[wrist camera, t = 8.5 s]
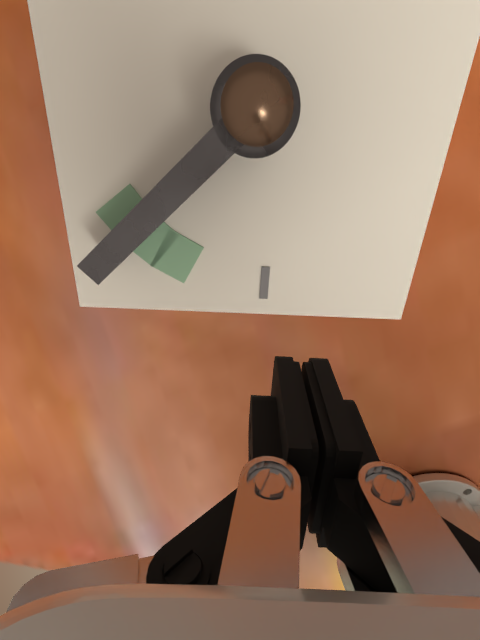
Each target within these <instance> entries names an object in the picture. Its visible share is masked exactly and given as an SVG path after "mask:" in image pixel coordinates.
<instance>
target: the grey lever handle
mask: <svg viewBox="0 0 480 640" xmlns="http://www.w3.org/2000/svg"><path fill="white" fill-rule="evenodd" d="M300 108H301V102H300V94H299V89H298V86H297V83H296V81H295V79H294V77H293V75H292V74H291V72H290V71H289V70H288V69H287V67H286V66H285V65H283V64H282V63H281V62H280V61H278V60H277V59H275V58H273V57H271V56H268V55H264V54H249V55H245V56H242V57H239V58H237V59H235V60H234V61H232V62H231V63H230V64H229V65H227V66H226V67H225V68H224V70H223V71H222V72H221V73H220V75H219V77H218V78H217V80H216V82H215V84H214V87H213V90H212V94H211V99H210V114H211V120H212V124H213V127H212V128H211V129H210V130H209V131H208V132H207V133H206V134H205V135H204V136H203V137H202V139H201V140H200V141H199V142H198V143H197V144H196V145H195V146H194V147H193V148H192V149H191V150H190V151H189V152H188V153H187V154H186V155H185V156H184V157H183V158H182V159H181V160H180V161H179V162H178V163H177V164H176V165H175V166H174V167H173V168H172V169H171V170H170V171H169V172H168V173H167V174H166V175H165V176H164V177H163V178H162V179H161V180H160V181H159V182H158V183H157V184H156V185H155V187H154V188H153V189H152V190H151V191H150V192H149V193H148V194H147V195H146V196H145V197H144V198H143V199H142V200H141V201H140V202H139V203H138V204H137V205H136V206H135V207H134V208H133V209H132V210H131V211H130V212H129V213H128V214H127V215H126V216H125V217H124V218H123V219H122V220H121V221H120V222H119V223H118V224H117V225H116V226H115V227H114V228H113V229H112V230H111V231H110V232H109V233H108V234H107V236H106V237H105V238H104V239H103V240H102V241H101V242H100V243H99V244H98V245H97V246H96V247H95V248H94V249H93V250H92V251H91V252H90V253H89V254H88V255H87V256H86V257H85V258H84V259H83V260H82V261H81V262H80V263H79V264H78V265H77V267H78V268H79V269H80V270H82V271H83V272H84V273H85V274H86V275H87V276H88V277H90V278H91V279H92V280H93V281H94V282H95V283H96V284H97V285H99V284H100V283H101V282H102V281H103V280H104V279H105V278H106V277H107V276H108V275H109V274H110V273H111V272H112V271H113V270H115V269H116V268H117V267H118V266H119V265H120V264H121V263H122V262H123V261H124V260H125V259H126V258H127V257H128V256H129V255H130V254H131V253H132V252H133V251H134V250H135V249H136V248H137V247H138V246H139V245H140V244H141V243H142V242H143V241H145V240H146V239H147V238H148V237H149V236H150V235H151V234H152V233H153V232H154V231H155V230H156V229H157V228H158V227H159V226H160V225H161V224H162V223H163V222H164V221H165V220H166V219H167V218H168V217H169V216H170V215H171V214H172V213H173V212H174V211H176V210H177V209H178V208H179V207H180V206H181V205H182V204H183V203H184V202H185V201H186V200H187V199H188V198H189V197H190V196H191V195H192V194H193V193H194V192H195V191H196V190H197V189H198V188H199V187H200V186H201V185H202V184H203V183H204V182H205V181H207V180H208V179H209V178H210V177H211V176H212V175H213V174H214V173H215V172H216V171H217V170H218V169H219V168H220V167H221V166H222V165H223V164H224V163H225V162H226V161H227V160H228V159H229V158H230V157H231V156H232V155H233V154H234V153H235V154H237V155H239V156H242V157H245V158H263V157H267V156H270V155H272V154H274V153H276V152H277V151H279V150H280V149H281V148H282V147H284V146H285V144H286V143H287V142H288V141H289V140H290V138H291V137H292V135H293V133H294V132H295V129H296V127H297V124H298V121H299V117H300Z"/></svg>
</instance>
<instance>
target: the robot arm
mask: <svg viewBox="0 0 480 640" xmlns="http://www.w3.org/2000/svg"><path fill="white" fill-rule="evenodd" d="M307 523H308V529H309V532H310V533H316V537H317V543H318V547H325V548H327V549H328V550H329V551H331V552H332V553H333V554H334V555H335V556H336V557H337V566H338V570H339V573H340V576H341V579H342V582H343V585H344V587H345V590H346V591H342V590H320V589H299V554H300V550H301V549H302V547H303V542H304V537H305V531H306V526H307ZM0 640H480V489H479V488H478V487H477V486H476V485H475V484H474V483H473V482H471V481H469V480H468V479H466V478H463V477H460V476H457V475H452V474H446V473H430V474H421V475H417V476H411V475H410V474H409V473H408V472H406V471H405V470H404V469H402V468H400V467H398V466H396V465H394V464H391V463H387V462H380V460H379V458H378V456H377V453H376V451H375V449H374V446H373V444H372V441H371V439H370V437H369V434H368V432H367V430H366V427H365V425H364V423H363V420H362V418H361V415H360V413H359V411H358V408H357V406H356V404H355V402H354V401H353V400H343V398H342V395H341V392H340V390H339V387H338V385H337V382H336V379H335V377H334V374H333V371H332V369H331V366H330V364H329V361H328V359H321V358H310V359H309V362H303V365H302V371H301V369H300V364H299V362H293V358H292V357H279V356H275V360H274V369H273V379H272V389H271V396H257V395H251V401H250V414H249V462H248V463H247V464H246V465H245V466H244V467H243V469H242V472H241V474H240V478H239V483H238V488H237V489H236V490H234V491H233V492H232V493H230V494H229V495H228V496H227V497H225V498H224V499H223V500H222V501H220V502H219V503H218V504H216V505H215V506H214V507H213V508H211V509H210V510H209V511H207V512H206V513H205V514H204V515H202V516H201V517H200V518H198V519H197V520H196V521H195V522H193V523H192V524H191V525H190V526H188V527H187V528H186V529H184V530H183V531H182V532H181V533H179V534H178V535H177V536H175V537H174V538H173V539H172V540H170V541H169V542H168V543H166V544H165V545H164V546H163V547H162V548H161V549H160V550H159V551H158V552H157V553H156V554H155V555H154V556H150V557H145V558H140V559H139V557H138V554H135V555H130V556H124V557H119V558H114V559H109V560H103V561H98V562H93V563H88V564H83V565H77V566H72V567H67V568H62V569H56V570H51V571H48V572H45V573H42V574H40V575H37V576H35V577H34V578H32V579H31V580H30V581H28V582H27V583H26V584H24V585H23V586H22V587H21V589H20V590H19V591H18V592H17V593H16V594H15V596H14V597H13V599H12V601H11V603H10V606H9V607H8V610H7V612H6V613H5V614H3V615H1V616H0Z"/></svg>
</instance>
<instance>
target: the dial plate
mask: <svg viewBox="0 0 480 640" xmlns="http://www.w3.org/2000/svg"><path fill="white" fill-rule="evenodd" d="M27 1H28V7H29V13H30V19H31V25H32V31H33V36H34V42H35V48H36V54H37V60H38V66H39V71H40V77H41V83H42V89H43V95H44V100H45V106H46V112H47V118H48V124H49V130H50V135H51V141H52V147H53V153H54V159H55V165H56V170H57V176H58V182H59V188H60V194H61V199H62V205H63V211H64V217H65V223H66V229H67V234H68V240H69V246H70V252H71V258H72V264H73V269H74V275H75V281H76V287H77V293H78V298H79V304H80V307H104V308H129V309H154V310H179V311H204V312H229V313H253V314H278V315H303V316H328V317H353V318H378V319H401V317H402V313H403V310H404V306H405V302H406V299H407V295H408V292H409V288H410V284H411V281H412V277H413V274H414V270H415V266H416V263H417V259H418V256H419V252H420V248H421V245H422V241H423V238H424V234H425V230H426V227H427V223H428V220H429V216H430V212H431V209H432V205H433V202H434V198H435V194H436V191H437V187H438V184H439V180H440V177H441V173H442V169H443V166H444V162H445V159H446V155H447V151H448V148H449V144H450V141H451V137H452V133H453V130H454V126H455V123H456V119H457V115H458V112H459V108H460V105H461V101H462V97H463V94H464V90H465V87H466V83H467V79H468V76H469V72H470V69H471V65H472V61H473V58H474V54H475V51H476V47H477V43H478V40H479V36H480V0H27ZM249 54H264V55H268V56H271V57H273V58H275V59H277V60H278V61H280V62H281V63H282V64H283V65H285V66H286V67H287V69H288V70H289V71H290V72H291V74H292V75H293V77H294V79H295V81H296V83H297V86H298V89H299V94H300V102H301V108H300V117H299V121H298V124H297V127H296V129H295V132H294V133H293V135H292V137H291V138H290V140H289V141H288V142H287V143H286V144H285V146H284V147H282V148H281V149H280V150H279V151H277V152H276V153H274V154H272V155H270V156H267V157H263V158H245V157H242V156H239V155H237V154H235V153H234V154H233V155H232V156H231V157H230V158H229V159H228V160H227V161H226V162H225V163H224V164H223V165H222V166H221V167H220V168H219V169H218V170H217V171H216V172H215V173H214V174H213V175H212V176H211V177H210V178H209V179H208V180H207V181H205V182H204V183H203V184H202V185H201V186H200V187H199V188H198V189H197V190H196V191H195V192H194V193H193V194H192V195H191V196H190V197H189V198H188V199H187V200H186V201H185V202H184V203H183V204H182V205H181V206H180V207H179V208H178V209H177V210H176V211H174V212H173V213H172V214H171V215H170V216H169V217H168V218H167V219H166V220H165V221H164V222H163V223H162V224H161V225H160V226H159V227H158V228H157V229H156V230H155V231H154V232H153V233H152V234H151V235H150V236H149V237H148V238H147V239H146V240H145V241H143V242H142V243H141V244H140V245H139V246H138V247H137V248H136V249H135V250H134V251H133V252H132V253H131V254H130V255H129V256H128V257H127V258H126V259H125V260H124V261H123V262H122V263H121V264H120V265H119V266H118V267H117V268H116V269H115V270H113V271H112V272H111V273H110V274H109V275H108V276H107V277H106V278H105V279H104V280H103V281H102V282H101V283H100V284H99V285H97V284H96V283H95V282H94V281H93V280H92V279H91V278H90V277H88V276H87V275H86V274H85V273H84V272H83V271H82V270H80V269H79V268H78V267H77V265H78V264H79V263H80V262H81V261H82V260H83V259H84V258H85V257H86V256H87V255H88V254H89V253H90V252H91V251H92V250H93V249H94V248H95V247H96V246H97V245H98V244H99V243H100V242H101V241H102V240H103V239H104V238H105V237H106V236H107V234H108V233H109V232H110V231H111V230H112V229H113V228H114V227H115V226H116V225H117V224H118V223H119V222H120V221H121V220H122V219H123V218H124V217H125V216H126V215H127V214H128V213H129V212H130V211H131V210H132V209H133V208H134V207H135V206H136V205H137V204H138V203H139V202H140V201H141V200H142V199H143V198H144V197H145V196H146V195H147V194H148V193H149V192H150V191H151V190H152V189H153V188H154V187H155V185H156V184H157V183H158V182H159V181H160V180H161V179H162V178H163V177H164V176H165V175H166V174H167V173H168V172H169V171H170V170H171V169H172V168H173V167H174V166H175V165H176V164H177V163H178V162H179V161H180V160H181V159H182V158H183V157H184V156H185V155H186V154H187V153H188V152H189V151H190V150H191V149H192V148H193V147H194V146H195V145H196V144H197V143H198V142H199V141H200V140H201V139H202V137H203V136H204V135H205V134H206V133H207V132H208V131H209V130H210V129H211V128H212V127H213V124H212V120H211V114H210V99H211V94H212V90H213V87H214V84H215V82H216V80H217V78H218V77H219V75H220V73H221V72H222V71H223V70H224V68H225V67H226V66H227V65H229V64H230V63H231V62H232V61H234V60H235V59H237V58H239V57H242V56H245V55H249Z"/></svg>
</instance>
